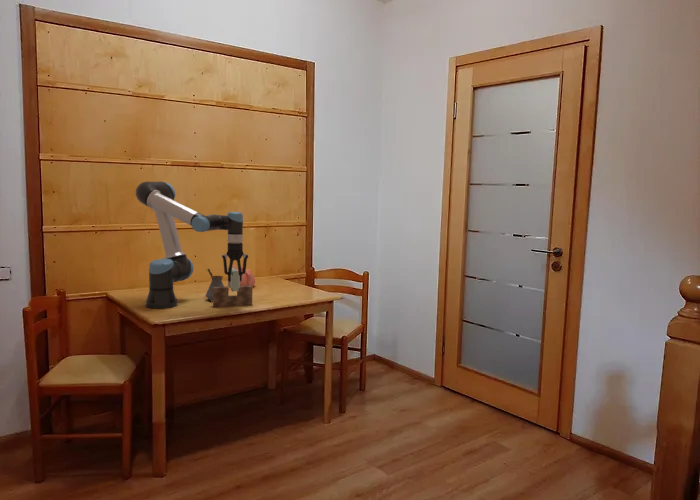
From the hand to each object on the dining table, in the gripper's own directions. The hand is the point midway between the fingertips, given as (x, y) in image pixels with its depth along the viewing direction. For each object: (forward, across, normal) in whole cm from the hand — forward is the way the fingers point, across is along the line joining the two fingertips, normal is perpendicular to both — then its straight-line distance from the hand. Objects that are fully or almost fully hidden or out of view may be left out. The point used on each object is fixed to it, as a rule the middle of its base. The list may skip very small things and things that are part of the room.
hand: (234, 287), depth 273 cm
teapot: (+11, +14, +54) cm, 57 cm away
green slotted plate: (+2, 0, +5) cm, 5 cm away
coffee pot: (+11, -7, +25) cm, 28 cm away
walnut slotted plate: (+11, 0, +5) cm, 12 cm away
